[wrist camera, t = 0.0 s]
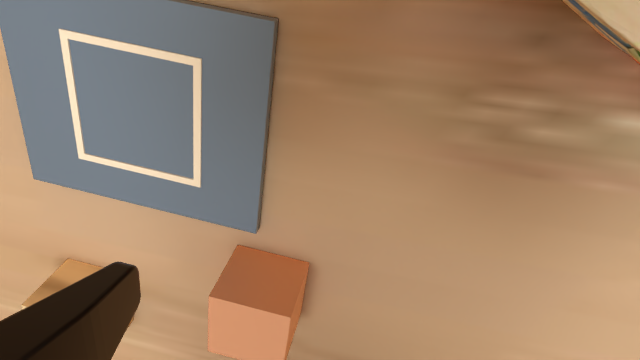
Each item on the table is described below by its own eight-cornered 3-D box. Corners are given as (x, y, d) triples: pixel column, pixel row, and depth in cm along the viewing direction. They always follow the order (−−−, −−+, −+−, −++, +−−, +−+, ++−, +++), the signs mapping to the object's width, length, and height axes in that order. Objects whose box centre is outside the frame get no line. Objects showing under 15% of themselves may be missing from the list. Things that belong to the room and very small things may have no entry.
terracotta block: (300, 313, 31) (282, 371, 27) (235, 295, 31) (207, 351, 27) (309, 261, 28) (290, 318, 24) (238, 243, 29) (208, 296, 25)
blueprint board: (259, 227, 27) (255, 234, 27) (40, 173, 29) (32, 179, 28) (278, 18, 21) (274, 22, 20) (-4, -38, 22) (-16, -36, 22)
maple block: (134, 318, 34) (97, 370, 31) (77, 303, 35) (34, 352, 31) (129, 273, 32) (89, 323, 28) (69, 257, 32) (21, 305, 29)
